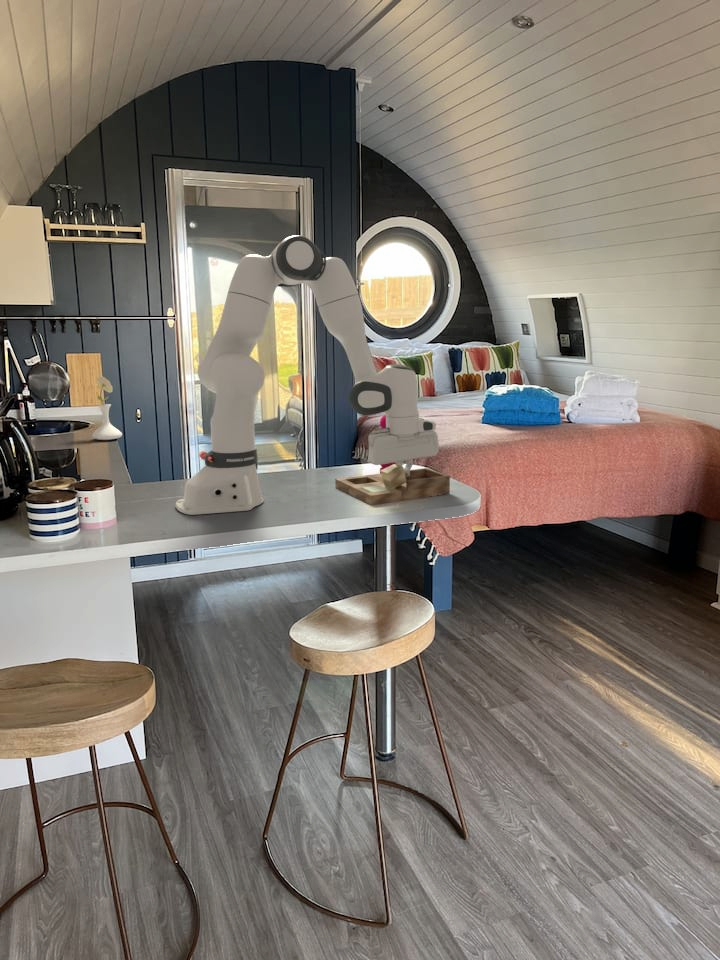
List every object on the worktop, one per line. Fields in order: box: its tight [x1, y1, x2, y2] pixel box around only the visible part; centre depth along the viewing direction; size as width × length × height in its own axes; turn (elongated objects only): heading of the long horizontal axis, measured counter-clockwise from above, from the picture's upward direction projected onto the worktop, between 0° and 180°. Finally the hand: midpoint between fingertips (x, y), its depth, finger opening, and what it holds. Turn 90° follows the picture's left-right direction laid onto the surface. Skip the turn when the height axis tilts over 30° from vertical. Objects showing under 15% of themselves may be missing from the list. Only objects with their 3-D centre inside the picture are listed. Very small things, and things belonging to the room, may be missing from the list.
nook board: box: [334, 467, 451, 506], centre depth 206 cm, size 24×22×5 cm
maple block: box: [379, 464, 406, 489], centre depth 200 cm, size 4×4×4 cm
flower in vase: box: [91, 375, 123, 441], centre depth 294 cm, size 13×11×25 cm
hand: (404, 476), depth 202 cm, fingers closed
